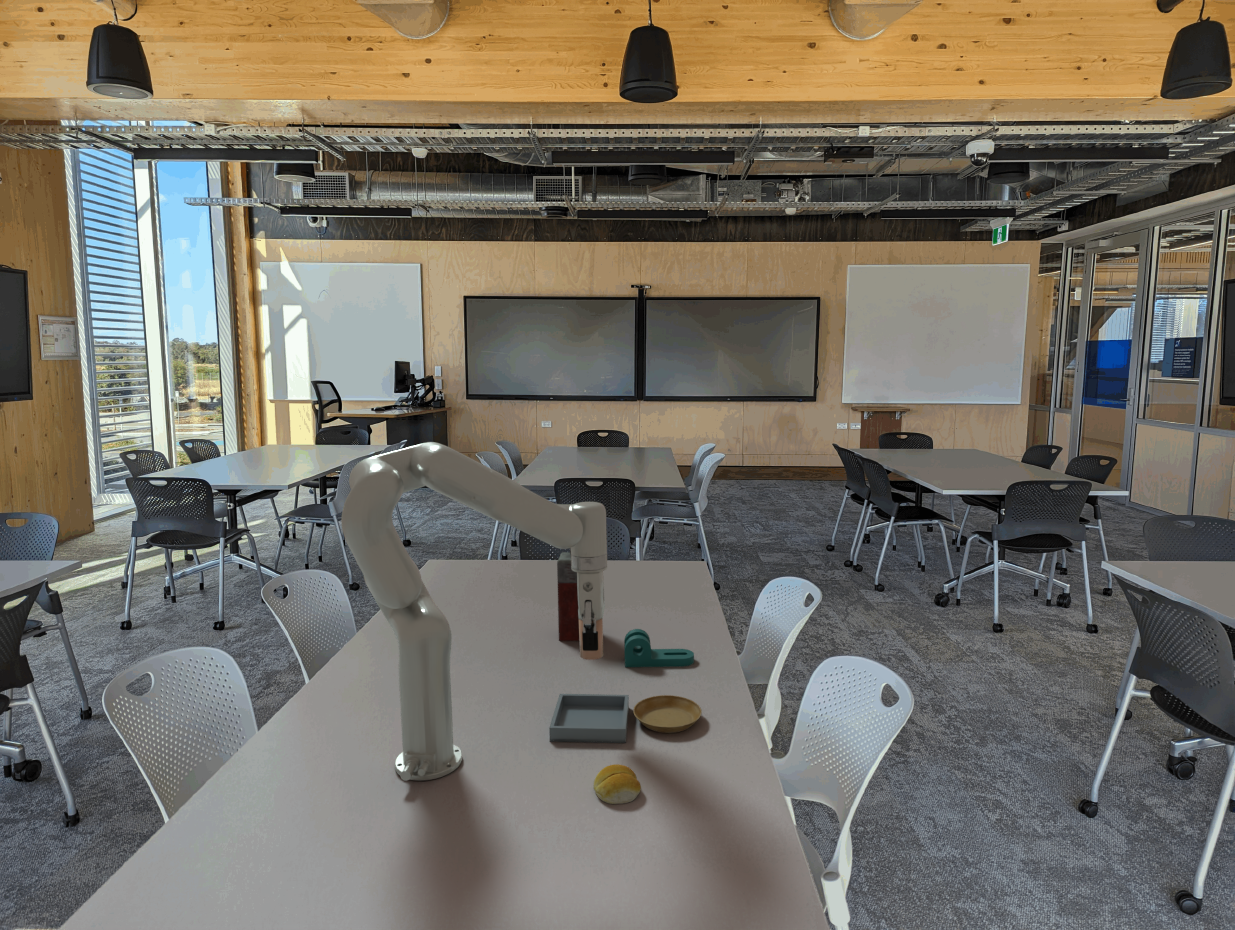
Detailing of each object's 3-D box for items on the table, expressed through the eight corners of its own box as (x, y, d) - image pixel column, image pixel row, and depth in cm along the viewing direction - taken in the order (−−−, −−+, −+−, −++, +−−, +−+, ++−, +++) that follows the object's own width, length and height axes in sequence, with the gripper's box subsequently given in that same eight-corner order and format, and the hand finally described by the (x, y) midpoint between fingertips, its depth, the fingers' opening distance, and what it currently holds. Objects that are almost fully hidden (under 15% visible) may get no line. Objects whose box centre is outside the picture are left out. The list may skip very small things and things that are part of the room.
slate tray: (625, 742, 147) (625, 729, 147) (549, 741, 148) (549, 727, 148) (628, 707, 163) (628, 694, 162) (559, 706, 164) (559, 693, 163)
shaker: (602, 659, 151) (601, 613, 150) (578, 659, 151) (577, 614, 150) (604, 650, 156) (603, 605, 155) (580, 650, 156) (579, 605, 155)
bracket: (625, 667, 185) (624, 638, 184) (624, 657, 192) (624, 629, 191) (695, 667, 185) (695, 637, 184) (692, 656, 192) (692, 628, 191)
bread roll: (632, 774, 136) (632, 754, 136) (644, 802, 128) (644, 780, 127) (589, 780, 134) (588, 760, 134) (598, 808, 126) (598, 787, 125)
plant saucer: (644, 743, 148) (644, 730, 147) (625, 710, 162) (625, 699, 162) (712, 733, 152) (712, 721, 151) (687, 702, 166) (687, 691, 165)
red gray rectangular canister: (598, 641, 203) (597, 543, 199) (558, 640, 203) (556, 543, 200) (600, 629, 212) (599, 536, 208) (562, 629, 212) (560, 536, 208)
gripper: (604, 573, 142) (607, 661, 145) (609, 550, 159) (611, 630, 162) (566, 573, 143) (569, 661, 145) (575, 551, 159) (577, 630, 162)
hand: (591, 644), depth 153 cm, fingers closed on shaker, 5 cm apart
